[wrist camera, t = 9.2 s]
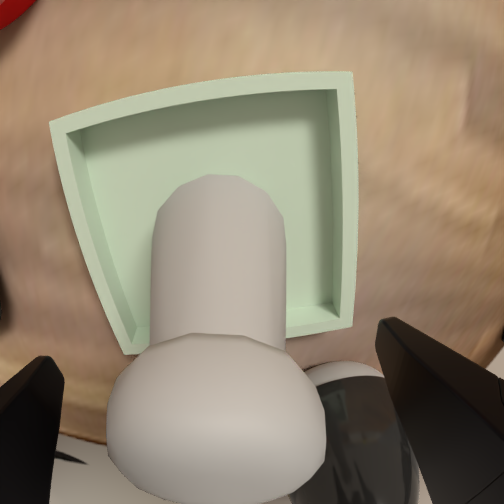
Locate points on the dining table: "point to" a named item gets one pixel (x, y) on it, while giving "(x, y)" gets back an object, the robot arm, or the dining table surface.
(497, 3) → the dining table surface
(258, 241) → the salt shaker
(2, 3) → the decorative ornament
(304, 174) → the tray
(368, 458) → the dark grey egg shape
